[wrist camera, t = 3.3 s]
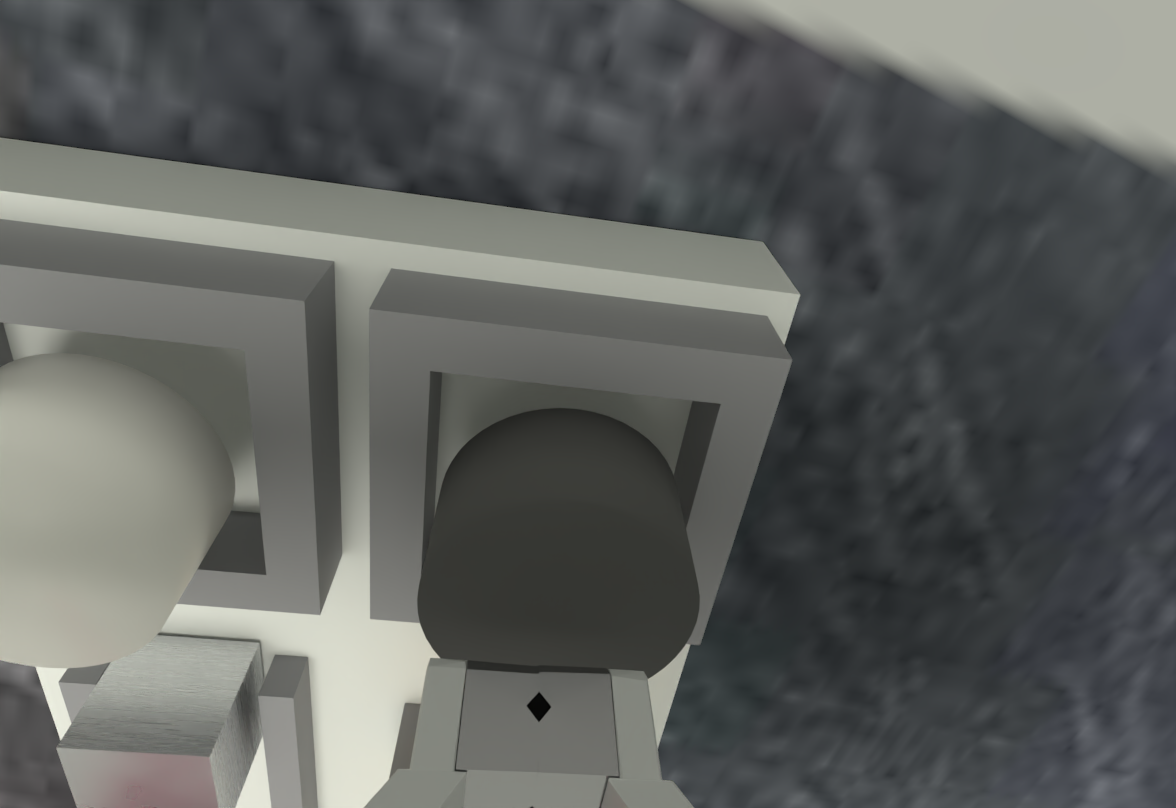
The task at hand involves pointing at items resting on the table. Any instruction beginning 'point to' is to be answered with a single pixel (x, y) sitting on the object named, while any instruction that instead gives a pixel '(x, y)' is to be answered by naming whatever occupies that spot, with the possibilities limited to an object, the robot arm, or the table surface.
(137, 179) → the console
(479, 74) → the table surface
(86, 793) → the metal slider knob
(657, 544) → the black button
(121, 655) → the white button
